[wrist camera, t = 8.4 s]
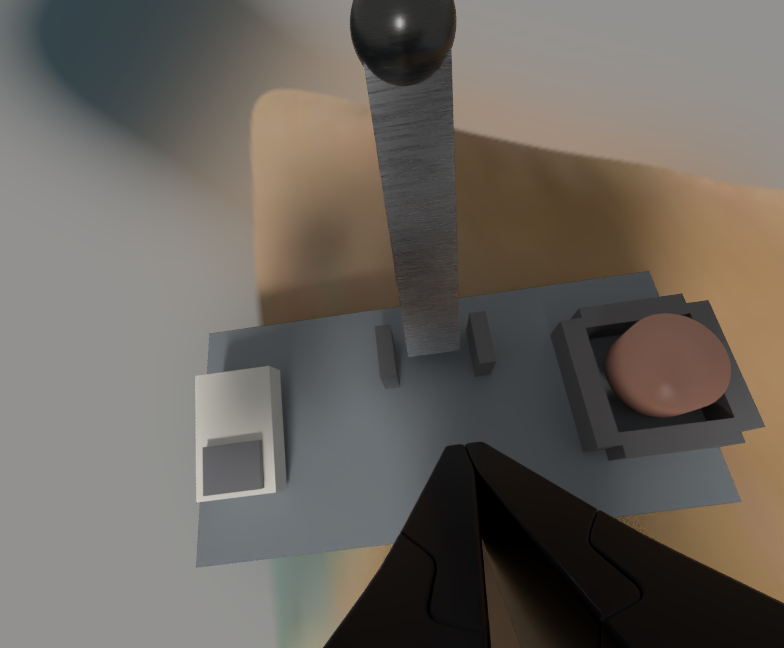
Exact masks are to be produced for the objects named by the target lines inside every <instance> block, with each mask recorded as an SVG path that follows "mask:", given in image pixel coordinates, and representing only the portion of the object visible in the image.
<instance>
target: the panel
mask: <svg viewBox="0 0 784 648" xmlns="http://www.w3.org/2000/svg"><path fill="white" fill-rule="evenodd" d="M458 303H459V338H460V350H457V351H450V352H442V353H435V354H428V355H420V356H413V357H408V352H407V346H406V339H405V332H404V326H403V319H402V313H401V306H400V307H393V308H386V309H379V310H372V311H365V312H358V313H350V314H343V315H336V316H329V317H322V318H315V319H308V320H301V321H294V322H287V323H280V324H273V325H266V326H259V327H253V328H245V329H238V330H232V331H224V332H217V333H210V334H209V351H208V367H207V374H213V373H221V372H228V371H235V370H242V369H250V368H257V367H264V366H271V367H273V368H276V369H278V370H280V380H281V397H282V414H283V431H284V448H285V465H286V482H287V488H286V489H283V490H281V491H278V492H276V493H268V494H261V495H253V496H245V497H237V498H229V499H221V500H213V501H205V502H200V508H199V526H198V544H197V562H196V567H203V566H212V565H221V564H229V563H237V562H245V561H254V560H262V559H271V558H279V557H287V556H295V555H304V554H312V553H320V552H329V551H337V550H345V549H353V548H362V547H370V546H378V545H387V544H394V542H395V540H396V538H397V537H398V535H399V534H400V532H401V530H402V528H403V526H404V524H405V523H406V521H407V519H408V517H409V515H410V513H411V511H412V509H413V507H414V505H415V504H416V502H417V500H418V498H419V496H420V494H421V492H422V490H423V488H424V486H425V484H426V483H427V481H428V479H429V477H430V475H431V473H432V471H433V469H434V467H435V465H436V464H437V462H438V460H439V458H440V456H441V454H442V452H443V450H444V448H445V447H446V446H448V445H456V444H463V445H464V446H465V444H467V443H472V442H480V441H482V442H485V443H486V444H488V445H490V446H491V447H493V448H495V449H496V450H498V451H500V452H502V453H503V454H505V455H507V456H508V457H510V458H512V459H513V460H515V461H517V462H519V463H520V464H522V465H524V466H525V467H527V468H529V469H530V470H532V471H534V472H536V473H537V474H539V475H541V476H542V477H544V478H546V479H547V480H549V481H551V482H553V483H554V484H556V485H558V486H559V487H561V488H563V489H564V490H566V491H568V492H570V493H571V494H573V495H575V496H576V497H578V498H580V499H581V500H583V501H585V502H587V503H588V504H590V505H592V506H593V507H595V508H597V510H598V511H599V510H601V511H603V512H605V513H607V514H608V515H610V516H612V517H619V516H627V515H635V514H644V513H652V512H660V511H669V510H677V509H685V508H693V507H702V506H710V505H718V504H727V503H735V502H741V499H740V497H739V494H738V492H737V489H736V487H735V485H734V482H733V480H732V477H731V475H730V472H729V470H728V467H727V465H726V462H725V460H724V457H723V455H722V452H721V450H720V447H722V446H728V445H734V444H740V443H745V440H744V438H743V435H742V433H741V432H742V431H747V430H752V429H757V428H762V427H765V425H764V423H763V421H762V418H761V416H760V414H759V412H758V409H757V407H756V405H755V403H754V401H753V398H752V396H751V394H750V392H749V389H748V387H747V385H746V383H745V381H744V378H743V376H742V374H741V372H740V369H739V367H738V365H737V363H736V361H735V358H734V356H733V354H732V352H731V349H730V347H729V345H728V343H727V341H726V338H725V336H724V334H723V332H722V329H721V327H720V325H719V323H718V321H717V318H716V316H715V314H714V312H713V309H712V307H711V305H710V303H709V301H708V300H706V301H699V302H692V303H686V302H685V299H684V297H683V295H682V294H676V295H669V296H662V297H659V295H658V293H657V290H656V288H655V285H654V283H653V280H652V278H651V275H650V273H649V271H646V272H639V273H632V274H625V275H618V276H611V277H604V278H597V279H590V280H583V281H576V282H569V283H562V284H554V285H547V286H540V287H533V288H526V289H519V290H512V291H505V292H498V293H491V294H484V295H477V296H470V297H463V298H458ZM662 313H670V314H678V315H682V316H686V317H688V318H691V319H693V320H695V321H697V322H699V323H701V324H702V325H704V326H705V327H707V328H708V329H709V330H710V331H712V332H713V333H714V334H715V335H716V336H717V338H718V339H719V340H720V341H721V343H722V344H723V346H724V347H725V349H726V351H727V354H728V356H729V359H730V364H731V379H730V383H729V385H728V388H727V390H726V391H725V393H724V394H723V395H722V396H721V397H720V398H719V399H718V400H717V401H715V402H714V403H712V404H710V405H708V406H705V407H702V408H699V409H696V410H693V411H690V412H687V413H684V414H681V415H678V416H675V417H670V418H655V417H649V416H646V415H643V414H640V413H638V412H636V411H634V410H632V409H631V408H629V407H628V406H626V405H625V404H624V403H623V402H622V401H621V400H620V399H619V398H618V397H617V396H616V395H615V394H614V392H613V391H612V389H611V387H610V386H609V383H608V381H607V378H606V374H605V358H606V354H607V352H608V350H609V348H610V346H611V345H612V344H613V343H614V342H615V341H616V340H617V339H618V338H619V337H620V336H621V335H623V334H624V333H625V332H626V331H627V330H629V329H630V328H631V327H632V326H633V325H634V324H636V323H637V322H638V321H640V320H641V319H643V318H645V317H648V316H651V315H655V314H662Z"/></svg>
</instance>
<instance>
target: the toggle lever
mask: <svg viewBox="0 0 784 648" xmlns="http://www.w3.org/2000/svg"><path fill="white" fill-rule="evenodd" d="M350 31H351V38H352V43H353V46H354V49H355V52H356V54H357V56H358V58H359V60H360V62H361V63H362V65H363V66H364V69H365V75H366V82H367V89H368V95H369V102H370V108H371V115H372V122H373V128H374V135H375V141H376V148H377V155H378V161H379V168H380V174H381V181H382V187H383V194H384V201H385V207H386V214H387V220H388V227H389V234H390V240H391V247H392V253H393V260H394V267H395V273H396V280H397V286H398V293H399V300H400V306H401V313H402V319H403V326H404V332H405V339H406V346H407V352H408V357H413V356H420V355H428V354H435V353H442V352H450V351H457V350H460V338H459V303H458V268H457V233H456V198H455V163H454V128H453V93H452V60H451V59H452V58H451V48H452V46H453V42H454V38H455V32H456V9H455V5H454V0H353V4H352V8H351V15H350Z"/></svg>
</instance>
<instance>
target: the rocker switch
mask: <svg viewBox="0 0 784 648" xmlns="http://www.w3.org/2000/svg"><path fill="white" fill-rule="evenodd" d="M195 390H196V391H195V398H196V399H195V402H196V403H195V404H196V502H205V501H213V500H221V499H229V498H237V497H245V496H253V495H261V494H268V493H276V492H278V491H281V490H283V489H286V488H287V482H286V465H285V448H284V431H283V414H282V397H281V380H280V370H278V369H276V368H273V367H271V366H264V367H257V368H250V369H242V370H235V371H228V372H221V373H213V374H206V375H199V376H195Z"/></svg>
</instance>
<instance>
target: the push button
mask: <svg viewBox="0 0 784 648" xmlns="http://www.w3.org/2000/svg"><path fill="white" fill-rule="evenodd" d="M605 374H606V378H607V381H608V383H609V386H610V387H611V389H612V391H613V392H614V394H615V395H616V396H617V397H618V398H619V399H620V400H621V401H622V402H623V403H624V404H625V405H626V406H628V407H629V408H631V409H632V410H634V411H636V412H638V413H640V414H643V415H646V416H649V417H655V418H670V417H675V416H678V415H681V414H684V413H687V412H690V411H693V410H696V409H699V408H702V407H705V406H708V405H710V404H712V403H714V402H715V401H717V400H718V399H719V398H720V397H721V396H722V395H723V394H724V393H725V391H726V390H727V388H728V385H729V383H730V379H731V364H730V359H729V356H728V354H727V351H726V349H725V347H724V346H723V344H722V343H721V341H720V340H719V339H718V338H717V336H716V335H715V334H714V333H713V332H712V331H710V330H709V329H708V328H707V327H705V326H704V325H702V324H701V323H699V322H697V321H695V320H693V319H691V318H688V317H686V316H682V315H678V314H670V313H662V314H655V315H651V316H648V317H645V318H643V319H641V320H640V321H638V322H637V323H636V324H634V325H633V326H632V327H631V328H630V329H629V330H627V331H626V332H625V333H624V334H623V335H621V336H620V337H619V338H618V339H617V340H616V341H615V342H614V343H613V344H612V345H611V346H610V348H609V350H608V352H607V354H606V358H605Z"/></svg>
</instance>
